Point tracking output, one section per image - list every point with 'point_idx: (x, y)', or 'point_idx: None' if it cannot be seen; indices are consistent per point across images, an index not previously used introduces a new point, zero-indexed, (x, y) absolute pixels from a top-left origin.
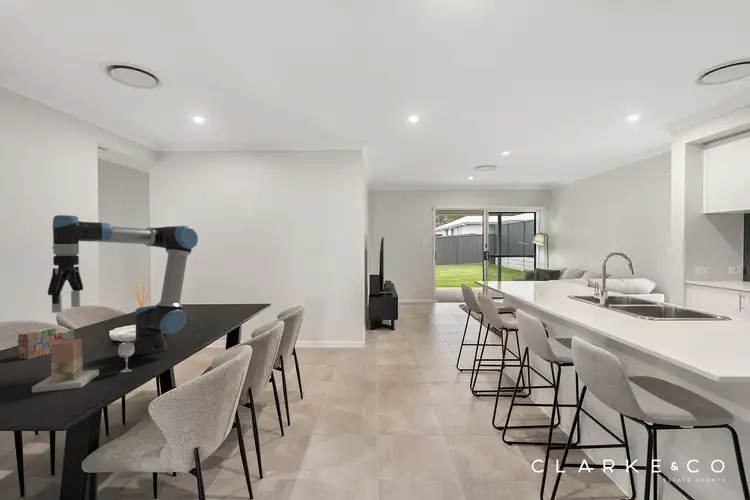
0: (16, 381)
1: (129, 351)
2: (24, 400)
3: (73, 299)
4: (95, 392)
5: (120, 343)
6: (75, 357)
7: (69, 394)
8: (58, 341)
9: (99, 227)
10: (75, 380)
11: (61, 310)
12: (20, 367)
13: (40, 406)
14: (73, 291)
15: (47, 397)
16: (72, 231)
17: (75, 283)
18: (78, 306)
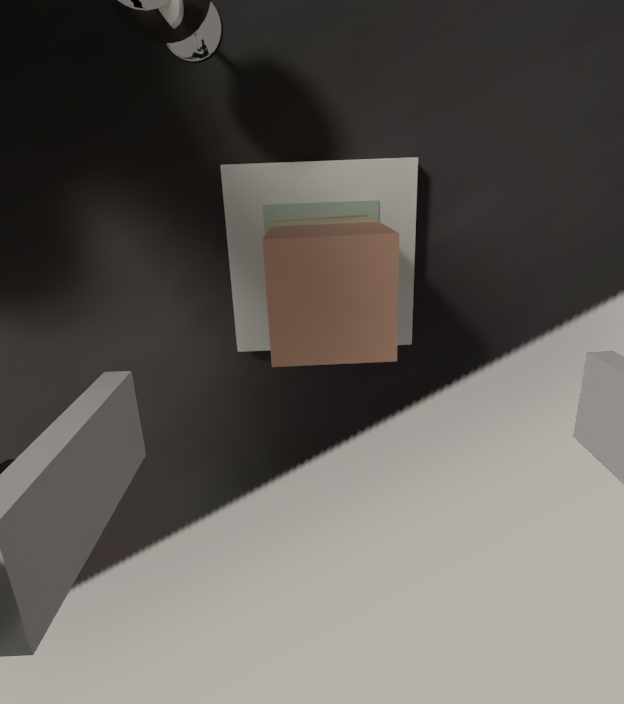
0: (242, 469)
1: None
2: (492, 314)
3: (101, 495)
4: (509, 49)
5: (143, 10)
6: (357, 223)
7: (489, 167)
8: (316, 360)
9: None
10: (378, 200)
11: (609, 359)
12: None
13: (591, 215)
14: (27, 610)
15: (491, 244)
16: None
17: None
18: (131, 381)
